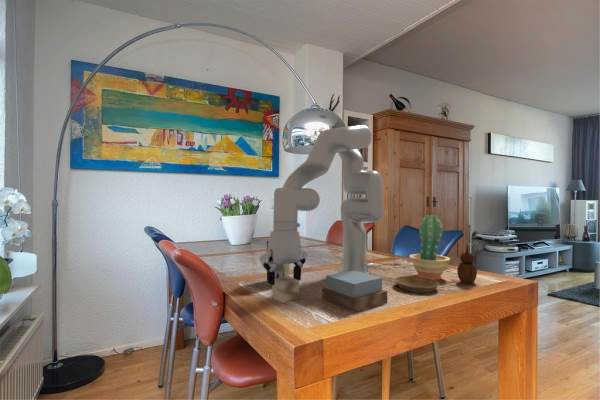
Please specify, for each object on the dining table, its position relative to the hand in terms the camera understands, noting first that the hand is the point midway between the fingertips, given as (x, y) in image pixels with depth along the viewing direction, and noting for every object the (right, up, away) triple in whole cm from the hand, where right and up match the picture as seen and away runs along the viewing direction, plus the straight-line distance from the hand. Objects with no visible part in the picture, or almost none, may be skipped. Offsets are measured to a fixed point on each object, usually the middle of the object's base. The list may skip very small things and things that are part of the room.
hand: (284, 281), depth 96 cm
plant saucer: (+46, -6, +12) cm, 48 cm away
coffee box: (-3, -5, +19) cm, 20 cm away
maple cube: (0, -5, 0) cm, 5 cm away
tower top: (+21, -2, -2) cm, 22 cm away
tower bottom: (+22, -6, -2) cm, 22 cm away
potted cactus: (+57, -6, +28) cm, 64 cm away
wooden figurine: (+68, -6, +20) cm, 71 cm away
